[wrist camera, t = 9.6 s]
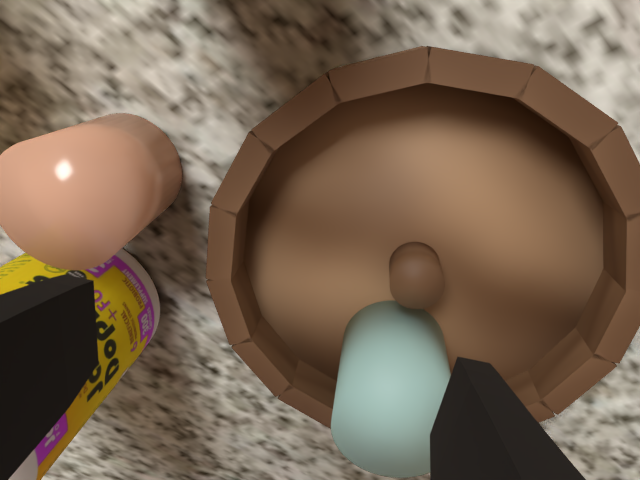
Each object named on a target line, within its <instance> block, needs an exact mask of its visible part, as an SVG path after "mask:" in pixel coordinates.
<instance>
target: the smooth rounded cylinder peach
mask: <svg viewBox="0 0 640 480" xmlns="http://www.w3.org/2000/svg"><path fill="white" fill-rule="evenodd" d="M181 184H182V166H181V162H180V158H179V155H178V153H177V150H176V149H175V147H174V145H173V143H172V142H171V141H170V139H169V138H168V137H167V136H166V134H165V133H164V132H163V131H162V130H161V129H159V128H158V127H157V126H156V125H154V124H153V123H151V122H150V121H148V120H146V119H144V118H141V117H139V116H136V115H132V114H126V113H115V114H109V115H106V116H103V117H100V118H96V119H93V120H90V121H87V122H83V123H80V124H77V125H74V126H71V127H67V128H64V129H61V130H58V131H54V132H51V133H48V134H45V135H42V136H38V137H35V138H32V139H29V140H25V141H22V142H19V143H17V144H15V145H13V146H11V147H9V148H8V149H7V150H5V151H4V152H3V153H2V154H1V155H0V225H1V226H2V228H3V230H4V231H5V232H6V234H7V235H8V236H9V237H10V238H11V240H12V241H13V242H14V243H15V244H16V245H17V246H18V247H20V248H21V249H22V250H23V251H25V252H26V253H27V254H28V255H30V256H32V257H33V258H35V259H36V260H38V261H41V262H43V263H45V264H47V265H50V266H53V267H56V268H60V269H66V270H86V269H90V268H94V267H96V266H99V265H101V264H103V263H105V262H106V261H107V260H109V259H110V258H111V257H112V256H113V255H115V254H116V253H117V252H118V251H119V250H120V249H121V248H123V247H124V246H125V245H126V244H127V243H128V242H129V241H130V240H132V239H133V238H134V237H135V236H136V235H137V234H138V233H140V232H141V231H142V230H143V229H144V228H145V227H146V226H147V225H149V224H150V223H151V222H152V221H153V220H154V219H155V218H156V217H158V216H159V215H160V214H161V213H162V212H163V211H164V210H166V209H167V208H168V207H169V206H170V205H171V204H172V203H173V202H174V200H175V199H176V197H177V195H178V193H179V191H180V188H181Z"/></svg>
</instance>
